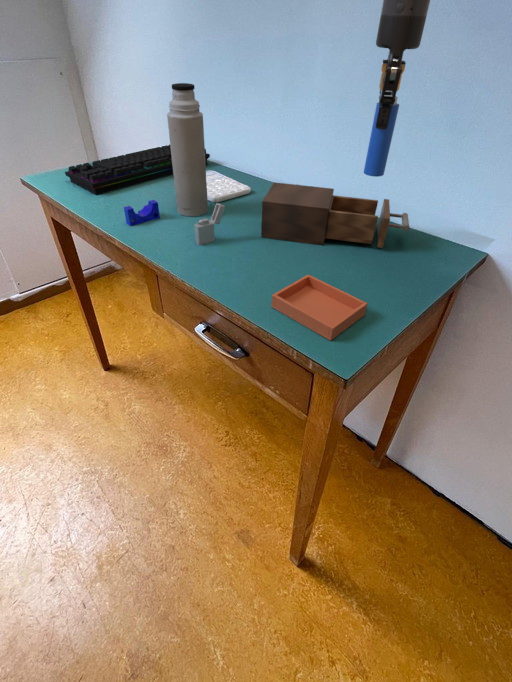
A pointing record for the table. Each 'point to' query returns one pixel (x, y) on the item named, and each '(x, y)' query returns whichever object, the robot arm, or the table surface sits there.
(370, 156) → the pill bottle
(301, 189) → the cabinet
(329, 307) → the tray
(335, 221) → the drawer
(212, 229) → the lighter
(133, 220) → the cable holder
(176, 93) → the thermos bottle
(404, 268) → the table surface
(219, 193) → the calculator
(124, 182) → the keyboard
